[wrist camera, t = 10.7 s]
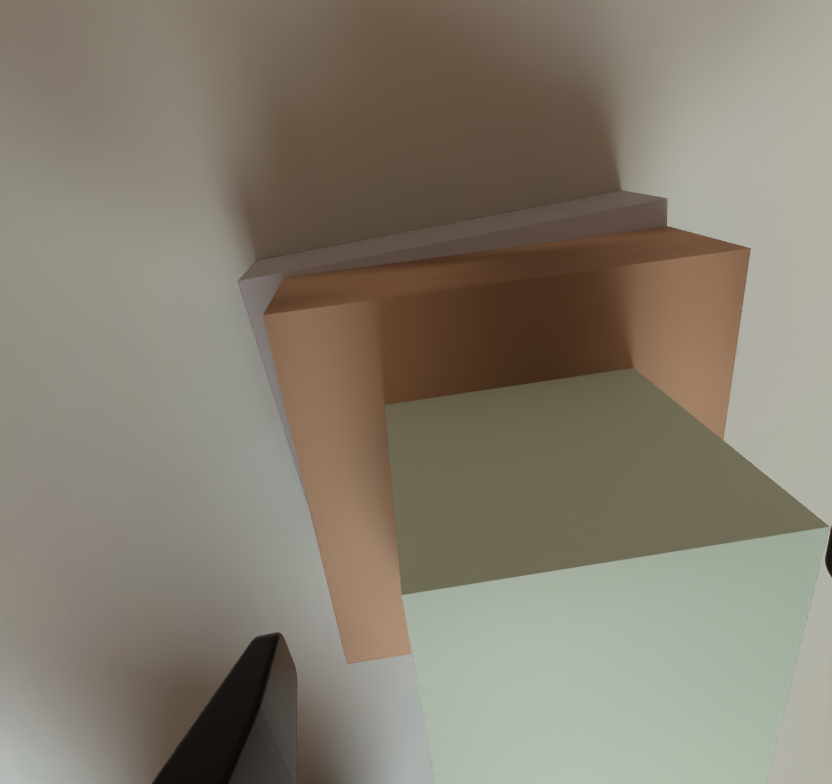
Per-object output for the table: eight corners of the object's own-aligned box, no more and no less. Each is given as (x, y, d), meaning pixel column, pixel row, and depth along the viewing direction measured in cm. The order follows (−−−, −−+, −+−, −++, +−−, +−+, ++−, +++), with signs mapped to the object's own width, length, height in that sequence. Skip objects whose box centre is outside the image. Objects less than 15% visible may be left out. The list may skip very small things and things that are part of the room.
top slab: (349, 577, 16) (346, 664, 14) (283, 277, 12) (262, 315, 10) (643, 530, 17) (699, 606, 14) (667, 226, 13) (750, 248, 10)
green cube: (415, 594, 13) (445, 843, 8) (384, 404, 11) (401, 595, 6) (623, 562, 13) (765, 786, 8) (633, 367, 11) (829, 527, 6)
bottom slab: (341, 537, 19) (338, 602, 17) (260, 256, 15) (237, 281, 12) (617, 482, 19) (659, 538, 17) (612, 188, 15) (667, 198, 12)
